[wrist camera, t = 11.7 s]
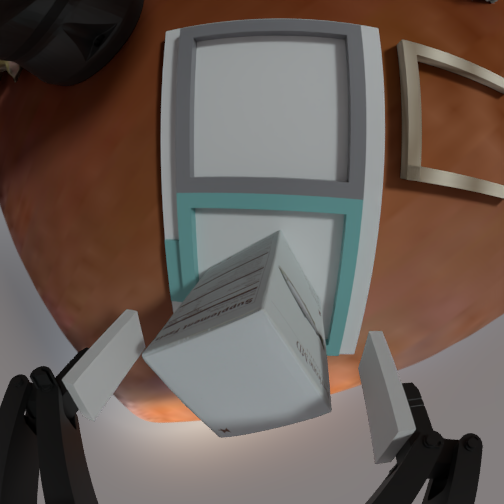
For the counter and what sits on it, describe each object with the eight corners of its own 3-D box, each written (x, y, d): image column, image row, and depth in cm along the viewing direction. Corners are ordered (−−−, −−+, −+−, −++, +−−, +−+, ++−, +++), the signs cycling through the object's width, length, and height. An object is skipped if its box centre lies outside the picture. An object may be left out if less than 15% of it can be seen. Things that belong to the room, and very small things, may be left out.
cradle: (400, 177, 20) (406, 179, 19) (396, 45, 16) (402, 39, 15) (504, 198, 18) (513, 200, 17) (503, 84, 14) (511, 82, 13)
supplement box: (322, 299, 24) (336, 415, 12) (249, 330, 26) (217, 441, 14) (282, 225, 22) (266, 307, 10) (206, 265, 24) (135, 358, 12)
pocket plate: (180, 333, 28) (174, 344, 27) (170, 35, 19) (161, 27, 17) (352, 348, 26) (355, 360, 24) (375, 32, 16) (381, 23, 14)
